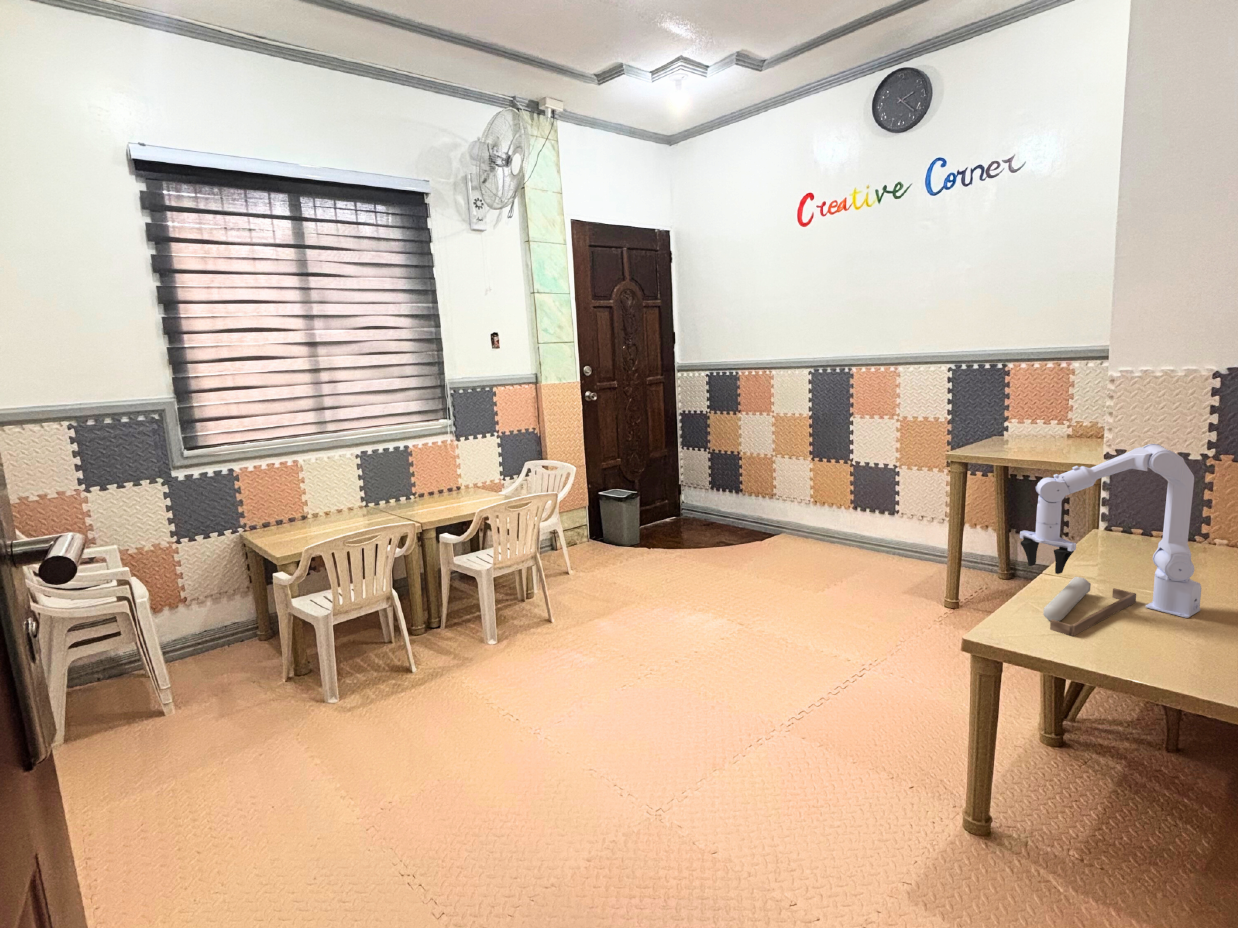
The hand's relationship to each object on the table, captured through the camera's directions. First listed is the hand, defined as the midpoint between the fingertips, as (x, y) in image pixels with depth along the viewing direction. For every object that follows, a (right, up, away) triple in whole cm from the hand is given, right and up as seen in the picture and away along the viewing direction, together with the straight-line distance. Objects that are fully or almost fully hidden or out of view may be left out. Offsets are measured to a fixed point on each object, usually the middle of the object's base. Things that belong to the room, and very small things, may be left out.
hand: (1045, 568), depth 195 cm
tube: (+4, -10, -3) cm, 12 cm away
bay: (+8, -11, -9) cm, 16 cm away
